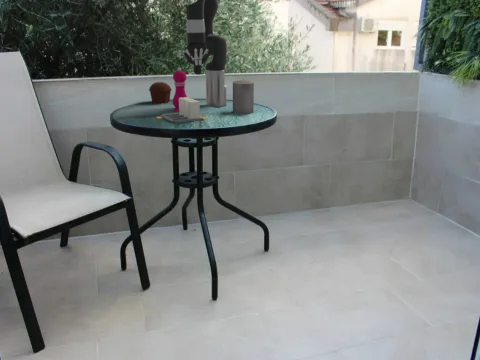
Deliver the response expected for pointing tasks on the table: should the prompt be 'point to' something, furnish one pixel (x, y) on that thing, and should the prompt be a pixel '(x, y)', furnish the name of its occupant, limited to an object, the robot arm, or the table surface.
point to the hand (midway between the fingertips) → (197, 74)
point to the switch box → (179, 118)
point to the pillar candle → (243, 96)
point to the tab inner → (181, 105)
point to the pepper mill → (179, 87)
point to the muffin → (160, 92)
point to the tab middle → (186, 106)
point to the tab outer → (193, 109)
